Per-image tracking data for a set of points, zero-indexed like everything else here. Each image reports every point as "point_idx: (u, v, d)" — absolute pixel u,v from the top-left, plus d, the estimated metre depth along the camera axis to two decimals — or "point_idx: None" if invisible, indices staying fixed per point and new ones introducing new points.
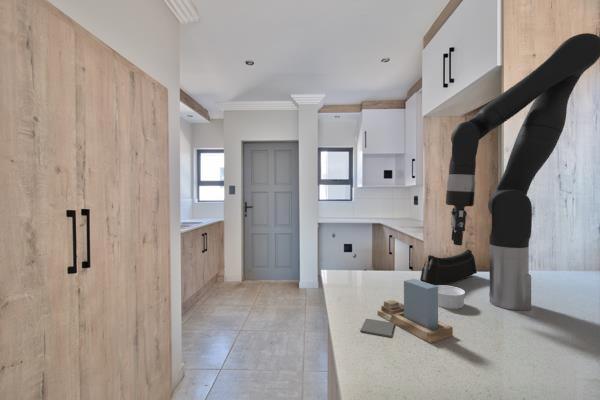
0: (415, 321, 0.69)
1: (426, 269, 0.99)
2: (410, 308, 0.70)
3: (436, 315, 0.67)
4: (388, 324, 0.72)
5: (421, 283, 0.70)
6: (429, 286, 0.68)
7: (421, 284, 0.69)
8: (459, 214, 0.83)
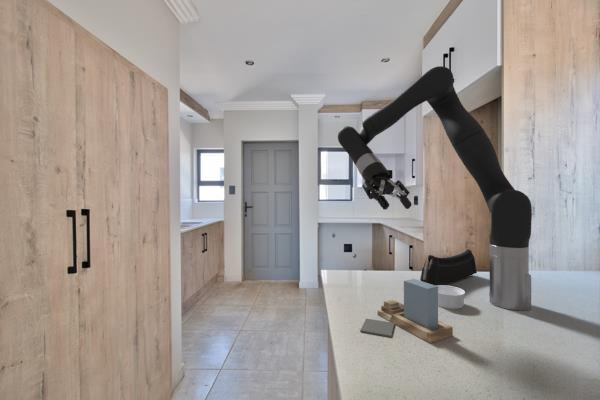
0: (415, 321, 0.69)
1: (426, 269, 0.99)
2: (410, 308, 0.70)
3: (436, 315, 0.67)
4: (388, 324, 0.72)
5: (421, 283, 0.70)
6: (429, 286, 0.68)
7: (421, 284, 0.69)
8: (364, 186, 0.87)
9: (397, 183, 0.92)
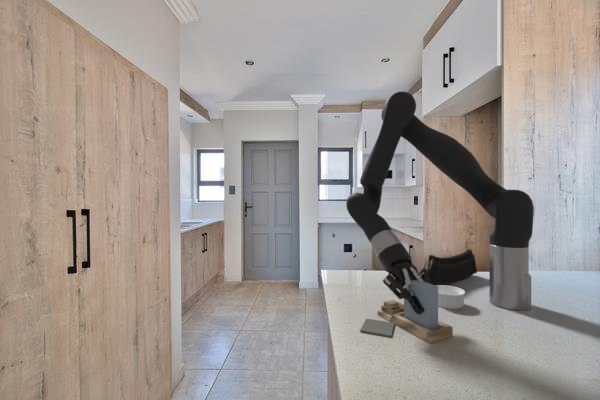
0: (415, 321, 0.69)
1: (427, 269, 0.99)
2: (411, 308, 0.70)
3: (436, 315, 0.67)
4: (388, 324, 0.72)
5: (421, 283, 0.70)
6: (429, 286, 0.68)
7: (421, 284, 0.69)
8: (387, 283, 0.71)
9: (422, 272, 0.76)
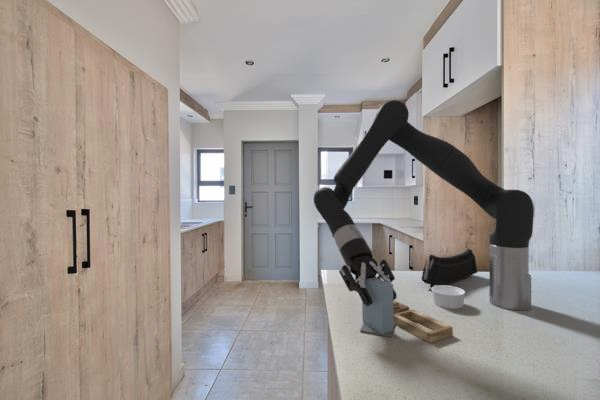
0: (371, 318, 0.70)
1: (427, 269, 0.99)
2: (368, 306, 0.71)
3: (391, 312, 0.68)
4: None
5: (378, 281, 0.70)
6: (384, 283, 0.68)
7: (378, 282, 0.70)
8: (342, 273, 0.72)
9: (382, 263, 0.77)
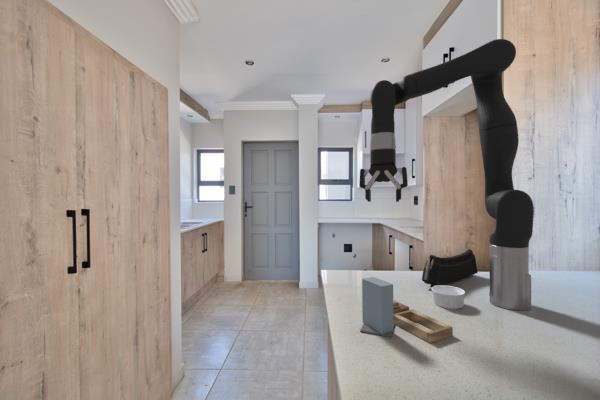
0: (371, 318, 0.70)
1: (428, 269, 1.00)
2: (368, 306, 0.71)
3: (391, 312, 0.68)
4: None
5: (378, 281, 0.70)
6: (384, 283, 0.68)
7: (378, 282, 0.70)
8: None
9: (402, 170, 0.87)
